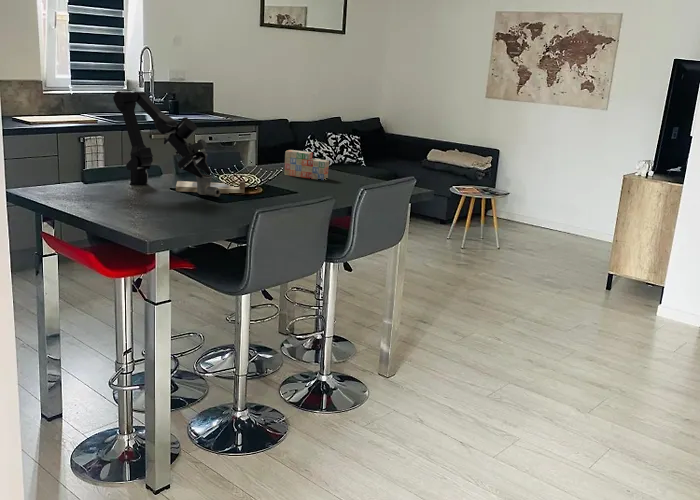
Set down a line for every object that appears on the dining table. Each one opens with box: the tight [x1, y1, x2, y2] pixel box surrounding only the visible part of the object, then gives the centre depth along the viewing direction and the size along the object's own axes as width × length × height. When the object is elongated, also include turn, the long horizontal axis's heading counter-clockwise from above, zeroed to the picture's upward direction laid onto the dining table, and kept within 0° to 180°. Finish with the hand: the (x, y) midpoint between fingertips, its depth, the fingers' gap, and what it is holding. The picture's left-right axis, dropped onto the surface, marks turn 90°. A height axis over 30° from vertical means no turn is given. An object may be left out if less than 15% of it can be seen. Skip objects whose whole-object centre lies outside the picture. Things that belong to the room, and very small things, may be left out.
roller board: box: [175, 180, 246, 194], centre depth 294 cm, size 28×12×5 cm, turn 101°
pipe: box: [195, 173, 221, 198], centre depth 282 cm, size 6×13×8 cm, turn 53°
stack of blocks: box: [283, 149, 330, 181], centre depth 344 cm, size 21×6×12 cm, turn 71°
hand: (206, 175), depth 281 cm, fingers open, 9 cm apart
